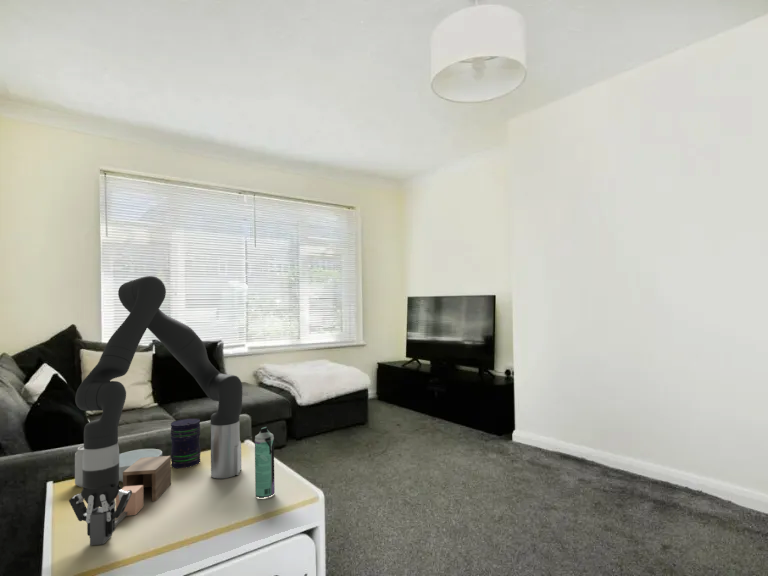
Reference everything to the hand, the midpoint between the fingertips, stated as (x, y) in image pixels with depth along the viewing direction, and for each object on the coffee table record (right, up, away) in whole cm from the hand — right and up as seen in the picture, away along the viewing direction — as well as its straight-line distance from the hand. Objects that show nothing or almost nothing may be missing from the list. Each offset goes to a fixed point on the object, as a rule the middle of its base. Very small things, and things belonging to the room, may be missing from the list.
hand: (101, 535), depth 105 cm
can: (-27, -4, +36) cm, 45 cm away
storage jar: (-3, -4, +52) cm, 52 cm away
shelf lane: (-3, -3, +27) cm, 27 cm away
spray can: (+33, -2, +23) cm, 41 cm away
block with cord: (-1, -1, +8) cm, 8 cm away
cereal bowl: (-15, -4, +39) cm, 42 cm away
